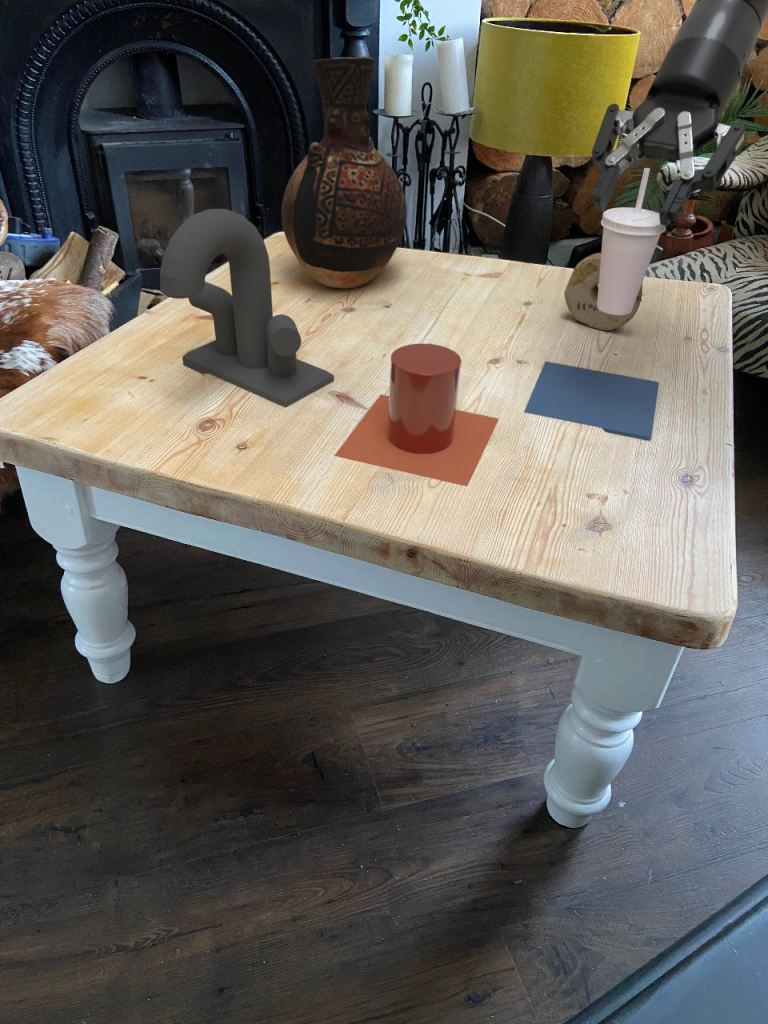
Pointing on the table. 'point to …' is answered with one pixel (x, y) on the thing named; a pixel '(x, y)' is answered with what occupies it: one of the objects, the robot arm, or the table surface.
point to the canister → (423, 397)
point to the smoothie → (626, 253)
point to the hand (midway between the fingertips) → (630, 213)
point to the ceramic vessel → (344, 186)
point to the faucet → (238, 309)
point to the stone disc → (592, 297)
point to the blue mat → (595, 399)
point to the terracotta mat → (444, 465)
